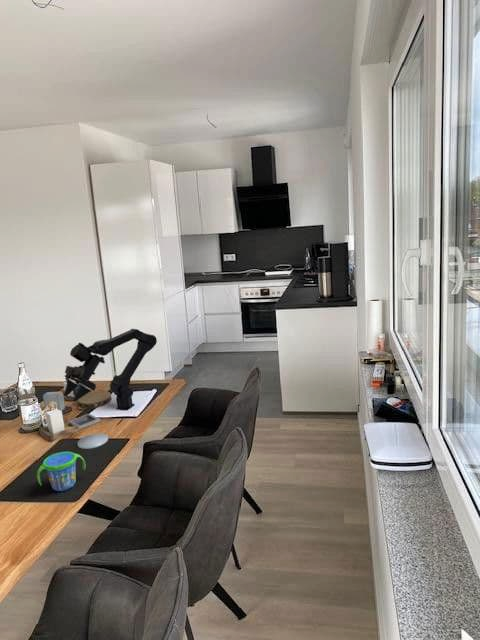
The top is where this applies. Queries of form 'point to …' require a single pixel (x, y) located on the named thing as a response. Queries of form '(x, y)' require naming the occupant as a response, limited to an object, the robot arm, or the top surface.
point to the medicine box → (54, 399)
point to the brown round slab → (94, 399)
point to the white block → (54, 421)
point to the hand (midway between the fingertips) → (69, 398)
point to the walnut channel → (59, 434)
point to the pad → (92, 441)
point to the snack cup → (61, 470)
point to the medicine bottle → (73, 390)
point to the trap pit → (84, 421)
